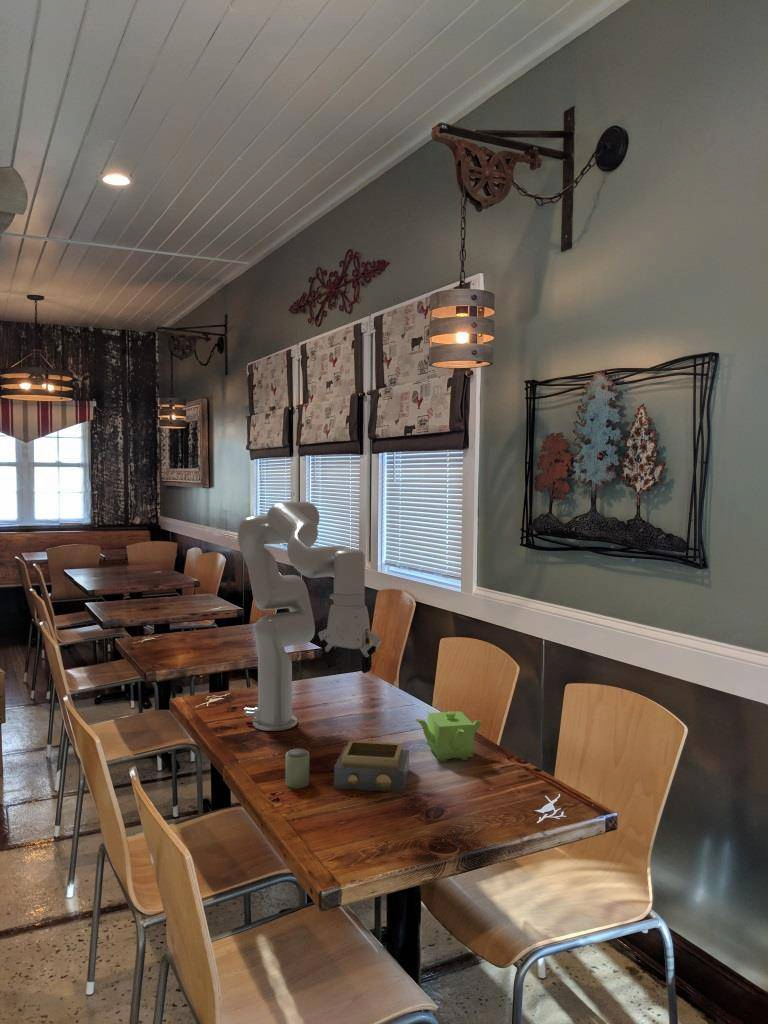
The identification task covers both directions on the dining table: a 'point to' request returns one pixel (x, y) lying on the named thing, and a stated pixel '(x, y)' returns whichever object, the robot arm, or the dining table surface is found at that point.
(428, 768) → the dining table surface
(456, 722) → the kettle
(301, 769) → the pale green cup
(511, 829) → the dining table surface
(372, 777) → the toy stove
